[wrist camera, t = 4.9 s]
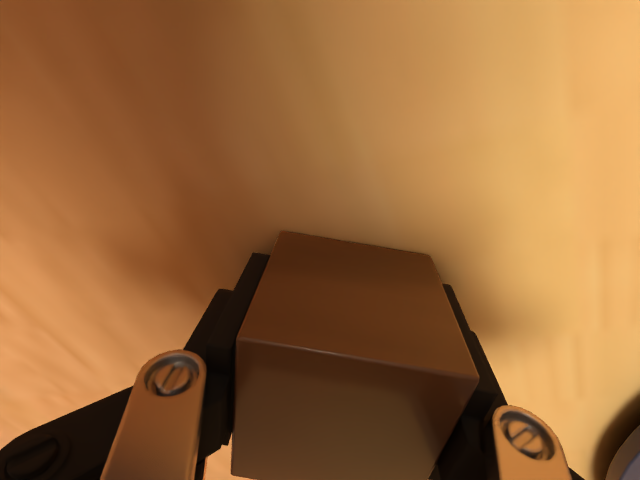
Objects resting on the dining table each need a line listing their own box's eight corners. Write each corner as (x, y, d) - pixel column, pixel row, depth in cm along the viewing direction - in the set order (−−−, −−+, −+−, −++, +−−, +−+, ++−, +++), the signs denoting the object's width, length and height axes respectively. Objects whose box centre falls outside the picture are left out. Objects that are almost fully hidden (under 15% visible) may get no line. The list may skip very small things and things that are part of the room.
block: (280, 229, 10) (234, 337, 6) (431, 254, 10) (482, 379, 6) (269, 341, 12) (229, 477, 8) (394, 363, 12) (414, 508, 8)
